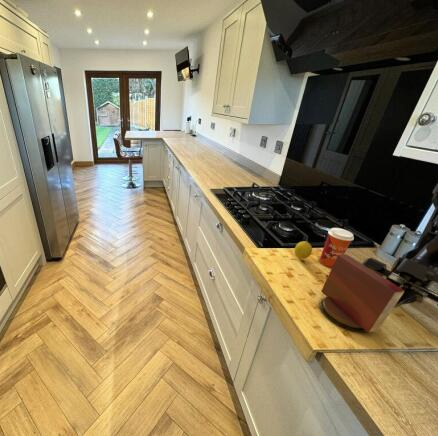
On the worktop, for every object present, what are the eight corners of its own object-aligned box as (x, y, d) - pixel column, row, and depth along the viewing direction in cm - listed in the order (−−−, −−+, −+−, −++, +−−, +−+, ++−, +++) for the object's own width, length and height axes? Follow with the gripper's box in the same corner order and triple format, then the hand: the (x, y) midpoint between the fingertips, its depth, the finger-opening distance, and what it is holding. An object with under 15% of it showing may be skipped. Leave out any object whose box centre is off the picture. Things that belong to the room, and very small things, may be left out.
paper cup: (320, 267, 89) (335, 235, 83) (313, 256, 96) (325, 225, 90) (344, 271, 88) (360, 238, 82) (334, 259, 94) (349, 228, 88)
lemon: (288, 256, 96) (294, 239, 92) (298, 253, 97) (304, 237, 94) (301, 263, 91) (307, 246, 87) (311, 261, 93) (318, 244, 89)
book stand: (338, 292, 76) (358, 253, 69) (388, 332, 63) (419, 289, 56) (308, 295, 74) (326, 255, 68) (353, 338, 61) (381, 293, 54)
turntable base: (335, 296, 76) (336, 294, 75) (378, 324, 66) (379, 322, 66) (311, 306, 72) (312, 303, 71) (353, 337, 62) (354, 335, 62)
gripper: (381, 231, 62) (340, 275, 63) (495, 274, 47) (439, 330, 48) (383, 250, 69) (346, 289, 69) (484, 293, 53) (435, 342, 54)
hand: (385, 309), depth 60 cm, fingers closed, pressing on book stand
